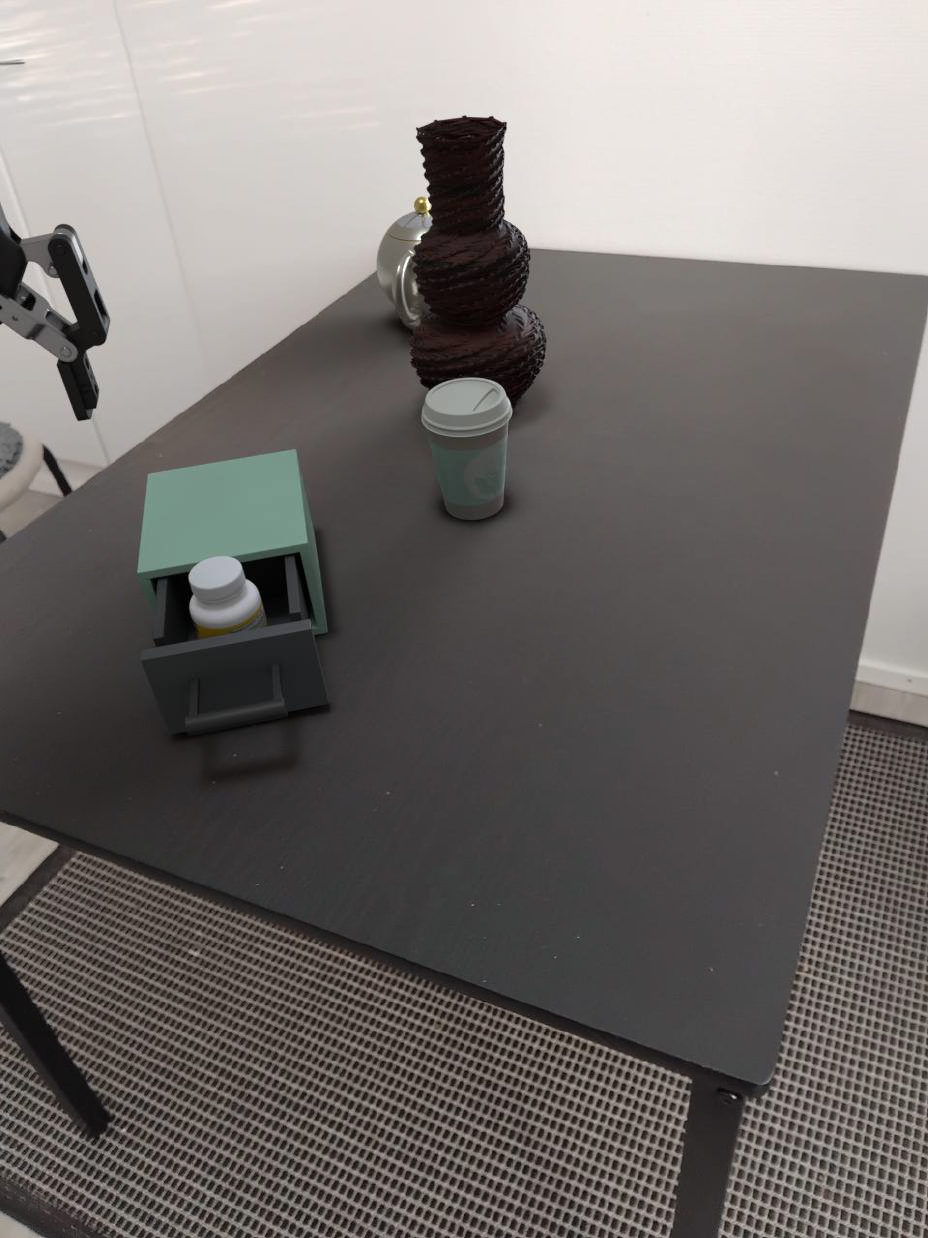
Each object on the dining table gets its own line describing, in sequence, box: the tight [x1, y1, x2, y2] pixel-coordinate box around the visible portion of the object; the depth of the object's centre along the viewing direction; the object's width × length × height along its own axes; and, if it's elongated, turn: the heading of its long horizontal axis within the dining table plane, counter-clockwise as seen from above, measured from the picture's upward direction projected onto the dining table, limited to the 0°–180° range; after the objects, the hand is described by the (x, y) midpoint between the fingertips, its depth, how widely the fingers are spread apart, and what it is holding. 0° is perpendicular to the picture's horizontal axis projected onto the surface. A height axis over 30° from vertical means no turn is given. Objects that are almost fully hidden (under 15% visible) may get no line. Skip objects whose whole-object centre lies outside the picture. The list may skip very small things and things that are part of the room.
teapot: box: [375, 196, 440, 331], centre depth 128 cm, size 18×14×16 cm
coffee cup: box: [420, 378, 513, 521], centre depth 94 cm, size 8×8×12 cm
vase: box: [408, 114, 547, 413], centre depth 104 cm, size 15×15×30 cm
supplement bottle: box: [189, 556, 269, 639], centre depth 76 cm, size 5×5×10 cm
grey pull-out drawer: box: [139, 552, 330, 737], centre depth 77 cm, size 20×12×8 cm, turn 11°
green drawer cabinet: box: [136, 448, 329, 636], centre depth 87 cm, size 16×14×10 cm
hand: (12, 426), depth 57 cm, fingers open, 8 cm apart
